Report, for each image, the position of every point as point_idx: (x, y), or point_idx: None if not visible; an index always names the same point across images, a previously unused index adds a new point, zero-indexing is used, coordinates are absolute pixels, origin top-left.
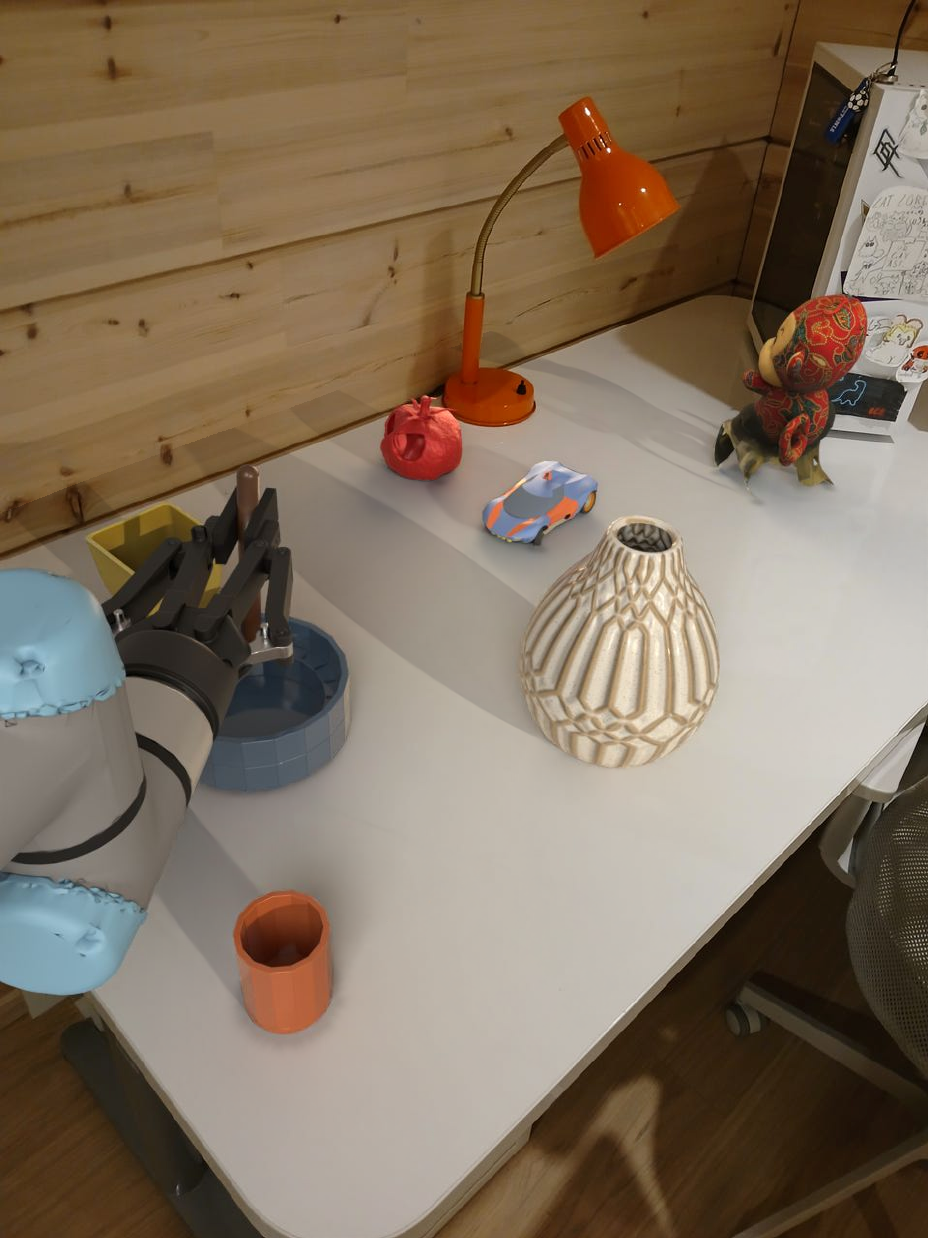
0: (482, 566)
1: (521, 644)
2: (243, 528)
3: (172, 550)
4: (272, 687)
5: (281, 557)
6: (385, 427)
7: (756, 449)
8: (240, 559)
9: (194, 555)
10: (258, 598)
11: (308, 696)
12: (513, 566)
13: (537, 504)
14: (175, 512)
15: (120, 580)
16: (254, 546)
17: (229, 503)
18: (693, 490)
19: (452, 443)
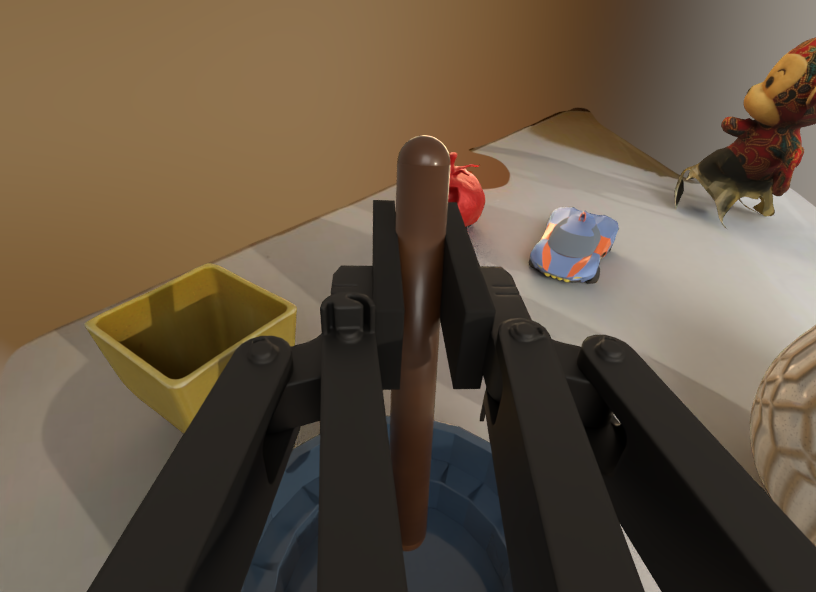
0: (553, 309)
1: (804, 434)
2: (415, 291)
3: (270, 387)
4: None
5: (627, 372)
6: None
7: (733, 186)
8: (514, 397)
9: (354, 400)
10: (431, 432)
11: (455, 534)
12: (582, 306)
13: (585, 243)
14: (222, 276)
15: (145, 386)
16: (517, 342)
17: (379, 235)
18: (673, 226)
19: (480, 195)
